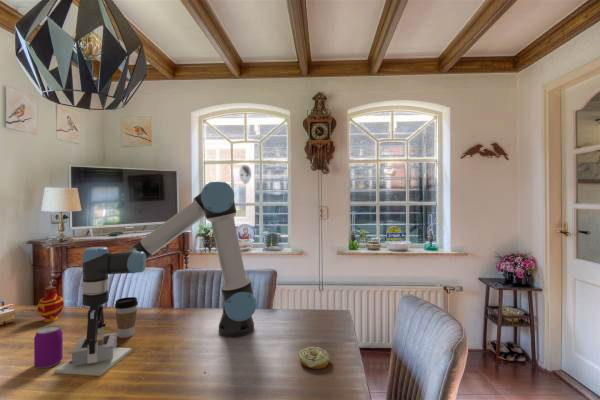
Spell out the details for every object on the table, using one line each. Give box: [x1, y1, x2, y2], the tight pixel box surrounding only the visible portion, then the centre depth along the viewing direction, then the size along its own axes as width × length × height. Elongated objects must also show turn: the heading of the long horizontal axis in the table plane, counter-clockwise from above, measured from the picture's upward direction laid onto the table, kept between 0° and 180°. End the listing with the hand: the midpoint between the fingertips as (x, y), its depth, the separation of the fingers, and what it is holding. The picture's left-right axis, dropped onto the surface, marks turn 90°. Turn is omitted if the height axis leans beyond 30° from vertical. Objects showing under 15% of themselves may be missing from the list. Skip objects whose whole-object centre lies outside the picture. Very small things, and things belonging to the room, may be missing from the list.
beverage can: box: [33, 324, 64, 369], centre depth 109 cm, size 8×8×12 cm
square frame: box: [71, 331, 118, 366], centre depth 110 cm, size 12×12×4 cm
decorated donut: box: [298, 346, 331, 370], centre depth 111 cm, size 10×11×4 cm
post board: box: [54, 333, 133, 377], centre depth 110 cm, size 16×16×8 cm
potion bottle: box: [36, 285, 65, 323], centre depth 147 cm, size 10×10×15 cm
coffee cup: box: [114, 296, 138, 339], centre depth 131 cm, size 8×8×15 cm
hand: (95, 353), depth 110 cm, fingers closed on square frame, 11 cm apart
